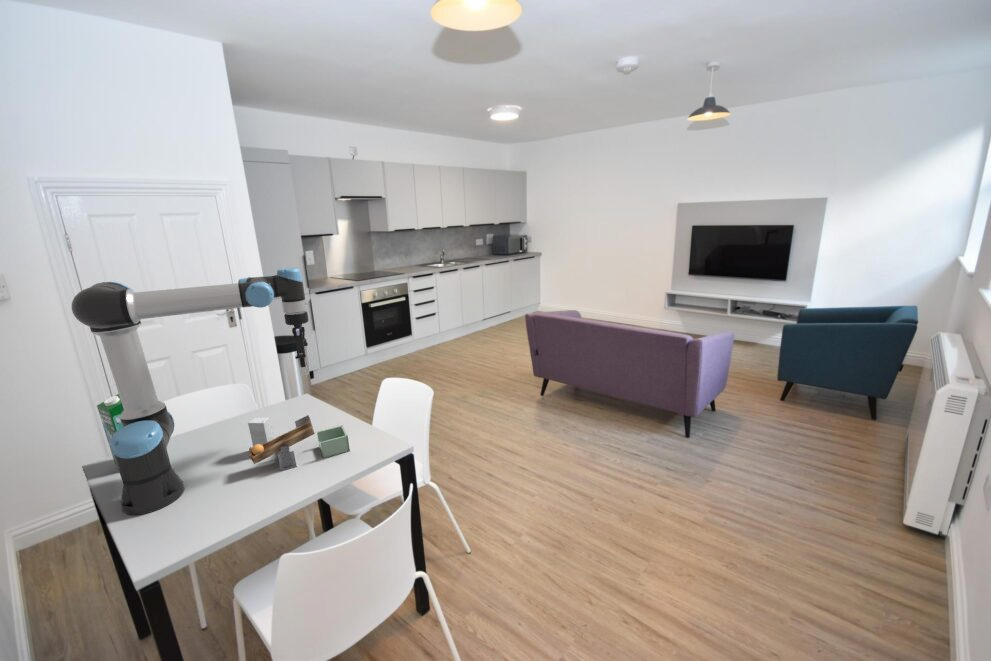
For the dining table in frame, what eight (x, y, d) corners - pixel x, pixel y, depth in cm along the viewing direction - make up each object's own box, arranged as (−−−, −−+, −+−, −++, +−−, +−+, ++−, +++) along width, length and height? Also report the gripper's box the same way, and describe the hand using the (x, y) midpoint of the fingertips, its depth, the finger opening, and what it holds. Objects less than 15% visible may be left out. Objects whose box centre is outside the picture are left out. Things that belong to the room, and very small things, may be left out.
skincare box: (276, 447, 159) (270, 417, 156) (269, 453, 155) (263, 423, 152) (261, 446, 160) (254, 417, 156) (253, 453, 155) (247, 423, 152)
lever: (254, 464, 141) (249, 456, 140) (253, 444, 154) (248, 436, 152) (314, 433, 149) (310, 425, 147) (309, 417, 161) (305, 409, 160)
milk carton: (114, 464, 152) (94, 398, 145) (144, 451, 160) (126, 389, 153) (127, 470, 148) (107, 403, 141) (157, 457, 155) (139, 393, 149)
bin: (323, 458, 150) (320, 443, 148) (319, 446, 158) (316, 431, 156) (349, 450, 154) (347, 435, 153) (344, 439, 162) (342, 425, 161)
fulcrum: (280, 471, 143) (276, 449, 141) (278, 457, 152) (274, 436, 150) (296, 466, 146) (292, 445, 144) (293, 452, 155) (290, 432, 152)
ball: (254, 459, 142) (249, 450, 140) (254, 454, 145) (249, 445, 144) (265, 453, 143) (260, 445, 142) (265, 448, 146) (260, 440, 145)
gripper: (307, 318, 143) (316, 378, 148) (307, 304, 165) (315, 357, 170) (282, 320, 140) (292, 382, 145) (285, 307, 162) (294, 360, 168)
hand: (304, 369), depth 158 cm, fingers open, 13 cm apart
